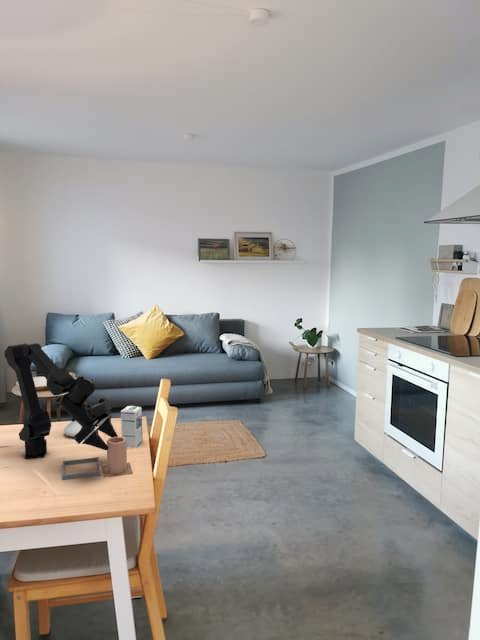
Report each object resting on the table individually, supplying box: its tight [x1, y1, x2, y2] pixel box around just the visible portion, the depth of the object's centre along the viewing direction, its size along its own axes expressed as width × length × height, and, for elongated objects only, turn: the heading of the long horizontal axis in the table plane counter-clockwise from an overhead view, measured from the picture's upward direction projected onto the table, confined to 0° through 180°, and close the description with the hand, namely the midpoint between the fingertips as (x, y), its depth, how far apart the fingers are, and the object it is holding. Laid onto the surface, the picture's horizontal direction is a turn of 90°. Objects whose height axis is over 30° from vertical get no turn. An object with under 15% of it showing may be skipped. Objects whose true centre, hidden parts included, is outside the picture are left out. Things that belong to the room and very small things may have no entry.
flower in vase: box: [63, 371, 82, 438], centre depth 194 cm, size 13×11×25 cm
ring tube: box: [104, 436, 128, 474], centre depth 162 cm, size 7×6×10 cm
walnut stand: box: [101, 462, 134, 478], centre depth 163 cm, size 9×9×5 cm
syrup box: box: [120, 405, 144, 448], centre depth 184 cm, size 6×6×14 cm
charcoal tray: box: [61, 456, 102, 481], centre depth 162 cm, size 11×11×2 cm
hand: (112, 443), depth 162 cm, fingers open, 9 cm apart
